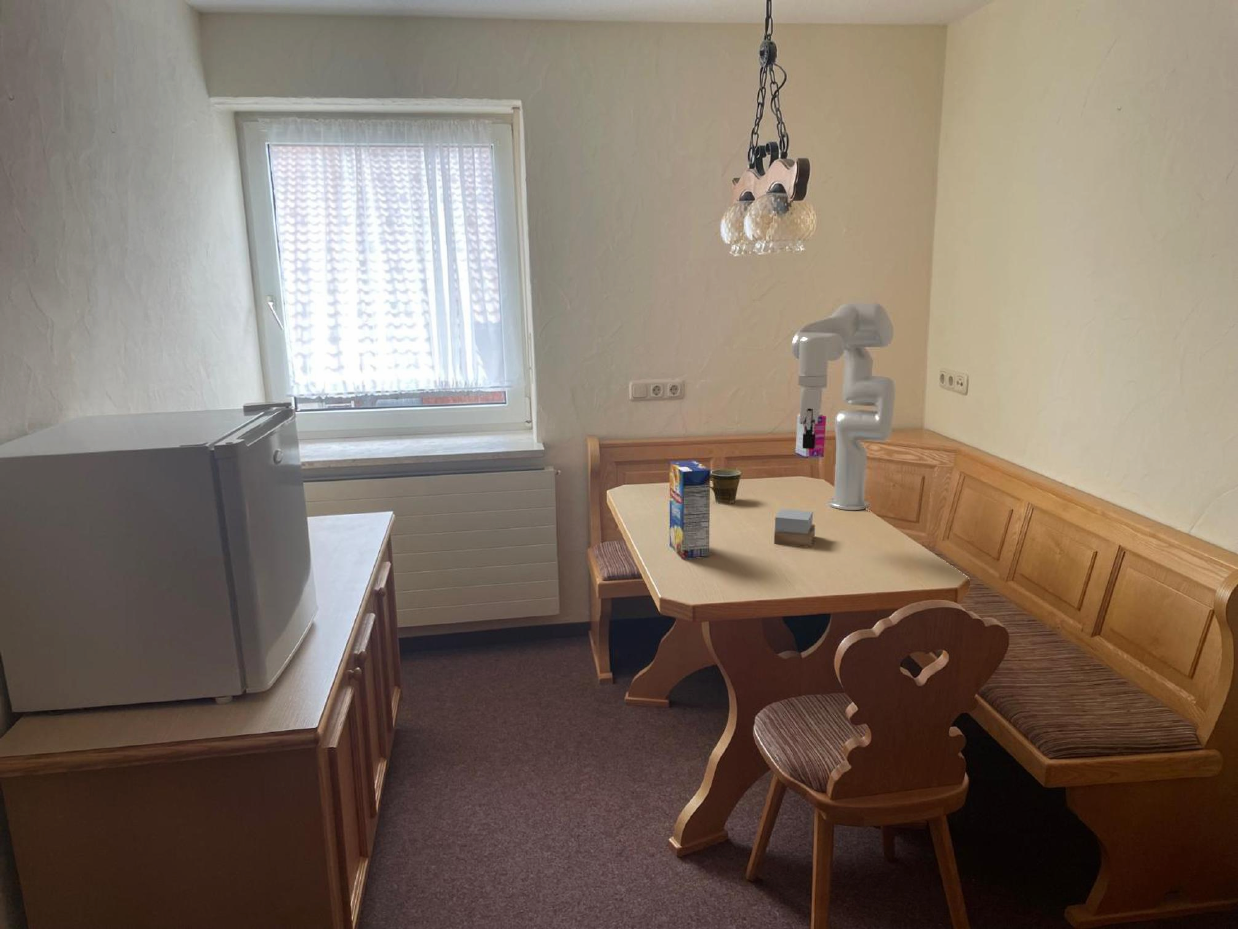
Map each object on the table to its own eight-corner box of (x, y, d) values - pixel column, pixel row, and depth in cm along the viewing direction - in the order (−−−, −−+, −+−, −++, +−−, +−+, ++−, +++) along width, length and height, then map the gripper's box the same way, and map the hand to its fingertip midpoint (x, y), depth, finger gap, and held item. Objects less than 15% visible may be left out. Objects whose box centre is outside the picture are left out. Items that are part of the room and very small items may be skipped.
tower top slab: (780, 522, 232) (781, 508, 231) (812, 525, 228) (812, 511, 227) (774, 530, 223) (775, 517, 223) (807, 534, 220) (808, 520, 219)
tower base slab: (779, 534, 233) (780, 521, 232) (814, 537, 230) (815, 524, 229) (774, 545, 224) (774, 531, 223) (810, 548, 220) (811, 534, 220)
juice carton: (669, 545, 223) (669, 462, 218) (694, 543, 225) (695, 460, 220) (682, 559, 212) (683, 471, 207) (709, 557, 214) (710, 469, 208)
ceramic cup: (739, 497, 272) (740, 469, 270) (740, 505, 262) (741, 476, 260) (701, 497, 274) (701, 468, 271) (701, 504, 264) (701, 475, 262)
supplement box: (805, 458, 216) (807, 417, 214) (795, 454, 222) (796, 413, 219) (824, 457, 218) (826, 415, 215) (813, 452, 223) (815, 412, 221)
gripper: (801, 377, 224) (799, 438, 228) (794, 385, 208) (792, 451, 212) (829, 378, 222) (826, 440, 226) (824, 386, 206) (821, 452, 210)
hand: (810, 445), depth 219 cm, fingers closed on supplement box, 7 cm apart
